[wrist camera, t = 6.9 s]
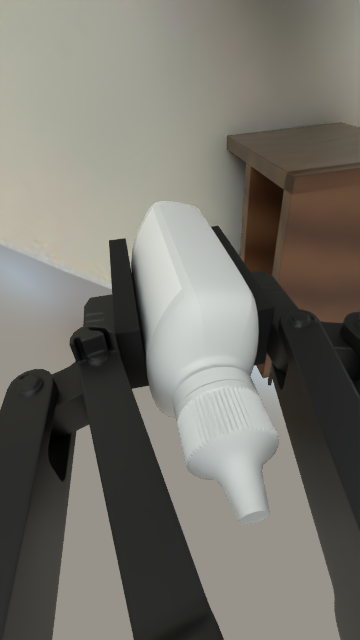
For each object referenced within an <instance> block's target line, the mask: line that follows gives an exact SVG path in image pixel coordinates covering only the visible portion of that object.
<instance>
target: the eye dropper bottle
mask: <svg viewBox="0 0 360 640" xmlns="http://www.w3.org/2000/svg"><path fill="white" fill-rule="evenodd" d="M131 269H132V279H133V286H134V292H135V299H136V305H137V312H138V318H139V325H140V331H141V338H142V344H143V350H144V357H145V363H146V369H147V377H148V382H149V386H150V390H151V393H152V397H153V399H154V401H155V403H156V405H157V407H158V408H159V409H160V411H161V412H162V413H164V414H165V415H167V416H169V417H173V418H176V421H177V425H178V430H179V435H180V440H181V444H182V449H183V454H184V458H185V463H186V467H187V469H188V470H189V471H190V472H191V473H192V474H193V475H195V476H197V477H199V478H202V479H207V480H216V481H217V482H218V483H219V484H220V485H221V487H222V488H223V490H224V492H225V494H226V496H227V498H228V500H229V502H230V504H231V507H232V509H233V511H234V513H235V515H236V517H237V519H238V521H239V523H240V524H252V523H256V522H259V521H261V520H263V519H265V518H266V517H268V516H269V514H270V511H269V506H268V501H267V496H266V491H265V486H264V481H263V475H262V468H263V464H265V463H266V462H267V461H268V460H269V459H270V458H271V457H272V456H273V455H274V454H275V452H276V450H277V448H278V445H279V436H278V434H277V432H276V430H275V428H274V426H273V424H272V422H271V419H270V417H269V415H268V413H267V411H266V409H265V407H264V405H263V402H262V400H261V398H260V396H259V394H258V392H257V390H256V388H255V385H254V383H253V381H252V379H251V377H250V375H251V373H252V370H253V366H254V363H255V358H256V354H257V347H258V333H259V329H258V314H257V308H256V303H255V299H254V297H253V294H252V292H251V291H250V289H249V287H248V285H247V284H246V282H245V280H244V279H243V277H242V275H241V274H240V272H239V270H238V269H237V267H236V266H235V264H234V262H233V261H232V259H231V258H230V256H229V255H228V253H227V251H226V250H225V248H224V247H223V245H222V244H221V242H220V240H219V239H218V237H217V236H216V234H215V233H214V231H213V230H212V228H211V227H210V225H209V223H208V222H207V220H206V219H205V217H204V216H203V214H202V213H201V211H200V210H199V208H198V207H196V206H194V205H192V204H186V203H179V202H172V201H158V202H156V203H154V204H153V205H152V206H151V207H150V208H149V210H148V211H147V213H146V215H145V217H144V218H143V220H142V222H141V224H140V227H139V229H138V232H137V235H136V238H135V241H134V246H133V251H132V261H131Z"/></svg>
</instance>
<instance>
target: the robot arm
mask: <svg viewBox="0 0 360 640" xmlns="http://www.w3.org/2000/svg"><path fill="white" fill-rule="evenodd" d="M211 228H212V230H213V231H214V233H215V234H216V236H217V237H218V239H219V240H220V242H221V244H222V245H223V247H224V248H225V250H226V251H227V253H228V255H229V256H230V258H231V259H232V261H233V262H234V264H235V266H236V267H237V269H238V270H239V272H240V274H241V275H242V277H243V279H244V280H245V282H246V284H247V285H248V287H249V289H250V291H251V292H252V294H253V297H254V299H255V303H256V308H257V314H258V329H259V333H258V347H257V354H256V358H255V363H254V365H259V364H265V361H266V355H267V354H268V355H269V357H270V359H271V361H272V362H271V367H270V372H269V378H268V385H271V383H272V379H273V382H274V385H275V389H276V392H277V395H278V399H279V403H280V406H281V409H282V412H283V416H284V420H285V423H286V427H287V430H288V433H289V437H290V440H291V444H292V447H293V450H294V454H295V458H296V461H297V464H298V468H299V471H300V475H301V478H302V482H303V485H304V488H305V492H306V495H307V499H308V502H309V506H310V509H311V513H312V516H313V519H314V523H315V526H316V530H317V533H318V537H319V540H320V543H321V547H322V550H323V554H324V557H325V560H326V564H327V567H328V571H329V574H330V578H331V581H332V585H333V589H334V595H335V616H336V622H337V627H338V631H339V635H340V639H341V640H360V312H352V313H350V314H347V316H346V317H345V318H344V321H343V323H336V322H323V321H320V320H319V319H318V318H317V316H316V315H314V314H313V313H311V312H309V311H306V310H302V309H298V307H297V306H296V305H295V303H294V302H293V301H292V300H291V298H290V297H289V296H288V295H287V293H286V292H285V291H284V290H283V288H282V287H281V286H280V284H278V282H277V281H276V279H275V278H274V277H273V276H272V275H270V274H269V273H267V272H265V271H263V270H262V271H256V272H250V271H249V269H248V268H247V266H246V265H245V264H244V262H243V261H242V259H241V258H240V256H239V255H238V254H237V252H236V251H235V249H234V248H233V246H232V245H231V244H230V242H229V241H228V239H227V238H226V236H225V235H224V234H223V232H222V231H221V229H220V228H219V226H213V227H211ZM109 247H110V263H111V279H112V295H106V296H99V297H93V298H90V299H89V300H88V302H87V303H86V305H85V306H84V324H83V327H81V328H80V329H78V330H77V331H76V332H74V333H73V335H72V336H71V338H70V347H71V349H72V352H73V354H74V357H75V359H76V362H75V363H73V364H72V365H71V366H69V367H67V368H65V369H64V370H61V371H59V372H57V373H54V374H52V375H51V374H50V372H49V371H46V370H44V369H34V370H30V371H27V372H25V373H23V374H21V375H19V376H18V377H17V378H16V379H14V380H13V381H12V382H11V384H10V386H9V388H8V389H7V392H6V395H5V398H4V401H3V404H2V407H1V410H0V640H52V635H53V627H54V618H55V610H56V601H57V593H58V584H59V575H60V566H61V558H62V549H63V541H64V532H65V524H66V515H67V506H68V498H69V489H70V481H71V472H72V463H73V454H74V446H75V437H76V431H77V430H79V429H80V428H83V427H85V426H86V425H88V424H89V425H90V430H91V434H92V439H93V444H94V449H95V453H96V458H97V463H98V468H99V473H100V477H101V482H102V487H103V492H104V497H105V502H106V507H107V512H108V516H109V521H110V526H111V530H112V536H113V541H114V545H115V550H116V555H117V560H118V565H119V570H120V574H121V579H122V584H123V589H124V594H125V598H126V603H127V608H128V613H129V618H130V623H131V627H132V632H133V638H134V640H224V639H223V636H222V634H221V631H220V629H219V626H218V624H217V621H216V619H215V617H214V615H213V613H212V611H211V608H210V606H209V604H208V601H207V598H206V596H205V593H204V590H203V588H202V584H201V582H200V579H199V576H198V573H197V570H196V568H195V565H194V562H193V559H192V557H191V554H190V551H189V548H188V545H187V542H186V540H185V537H184V534H183V532H182V529H181V526H180V523H179V521H178V517H177V515H176V512H175V509H174V506H173V503H172V501H171V498H170V495H169V492H168V489H167V487H166V484H165V481H164V478H163V475H162V473H161V470H160V467H159V464H158V462H157V459H156V456H155V453H154V450H153V448H152V445H151V442H150V439H149V436H148V433H147V431H146V428H145V425H144V422H143V419H142V417H141V414H140V411H139V408H138V406H137V403H136V400H135V397H134V395H133V392H132V388H138V387H143V386H149V382H148V377H147V369H146V363H145V357H144V350H143V344H142V338H141V331H140V325H139V318H138V312H137V305H136V299H135V292H134V286H133V279H132V273H131V267H130V261H129V256H128V250H127V244H126V239H125V238H124V239H117V240H110V241H109Z"/></svg>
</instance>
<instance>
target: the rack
mask: <svg viewBox="0 0 360 640" xmlns="http://www.w3.org/2000/svg"><path fill="white" fill-rule="evenodd" d="M227 149H228V150H229V151H230V152H232V153H233V154H235V155H236V156H237V157H239V158H240V159H242V160H243V161H244V162H246V173H245V189H244V204H243V220H242V236H241V252H240V258H241V259H242V261H243V262H244V264H245V265H246V266H247V268H248V269H249V271H250V272H256V271H262V270H263V271H265V272H267V273H269V274H270V275H272V276H273V277H274V278H275V279H276V281H277V282H278V284H280V286H281V287H282V288H283V290H284V291H285V292H286V293H287V295H288V296H289V297H290V298H291V300H292V301H293V302H294V303H295V305H296V306H297V307H298V309H302V310H306V311H309V312H311V313H313V314H314V315H316V316H317V318H318V319H319V320H320V321H323V322H336V323H343V321H344V318H345V317H346V316H347V314H350V313H352V312H360V127H356V126H353V125H349V124H345V123H341V122H340V123H332V124H323V125H315V126H306V127H297V128H289V129H280V130H272V131H263V132H254V133H246V134H237V135H228V136H227ZM271 362H272V361H271V359H270V357H269V355H268V354H267V355H266V361H265V364H259V365H256V366H257V368H258V369H259V372H260V374H261V375H262V377H263V378H266V377H269V372H270V367H271Z"/></svg>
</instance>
